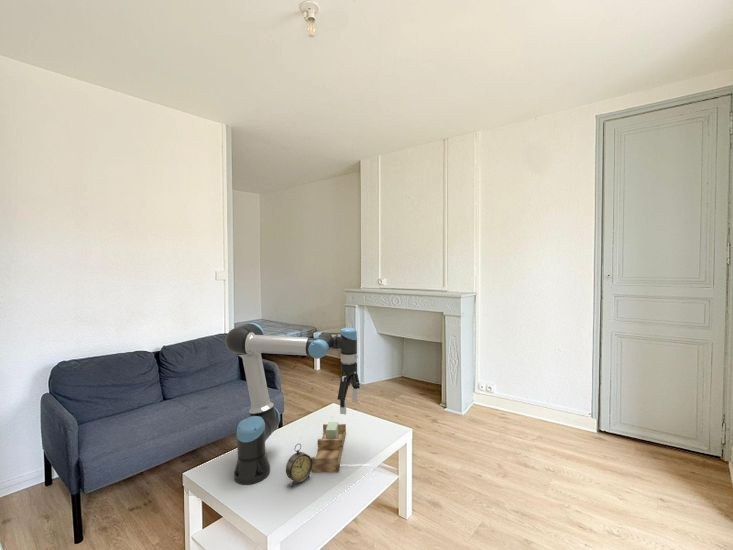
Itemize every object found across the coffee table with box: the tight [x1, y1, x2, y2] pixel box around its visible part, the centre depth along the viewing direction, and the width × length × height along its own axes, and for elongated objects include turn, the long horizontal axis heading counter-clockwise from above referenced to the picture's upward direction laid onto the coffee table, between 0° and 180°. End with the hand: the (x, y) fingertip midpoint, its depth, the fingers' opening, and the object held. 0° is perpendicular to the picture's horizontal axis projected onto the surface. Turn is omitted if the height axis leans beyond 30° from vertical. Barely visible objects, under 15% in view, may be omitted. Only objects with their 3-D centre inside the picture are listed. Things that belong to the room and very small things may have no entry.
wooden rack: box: [310, 423, 347, 473], centre depth 171 cm, size 12×33×6 cm, turn 178°
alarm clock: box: [285, 443, 312, 488], centre depth 148 cm, size 11×5×16 cm, turn 134°
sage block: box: [326, 421, 339, 439], centre depth 179 cm, size 5×9×8 cm, turn 178°
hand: (349, 407), depth 161 cm, fingers open, 13 cm apart
